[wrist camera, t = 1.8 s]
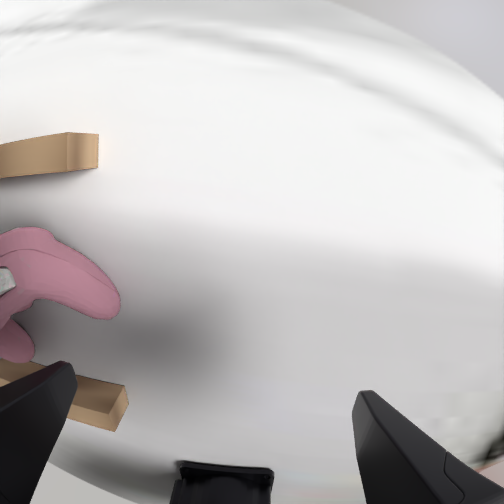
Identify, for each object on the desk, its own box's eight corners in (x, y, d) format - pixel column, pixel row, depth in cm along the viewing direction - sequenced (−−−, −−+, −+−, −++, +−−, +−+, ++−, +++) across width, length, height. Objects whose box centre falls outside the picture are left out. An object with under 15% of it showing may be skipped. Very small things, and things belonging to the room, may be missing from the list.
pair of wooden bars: (98, 134, 12) (67, 132, 10) (128, 403, 16) (114, 431, 14) (-29, 155, 12) (-58, 160, 10) (12, 369, 17) (-5, 388, 14)
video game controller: (108, 227, 15) (-4, 193, 8) (135, 312, 14) (12, 318, 7) (15, 298, 17) (-70, 294, 10) (32, 363, 16) (-56, 375, 9)
